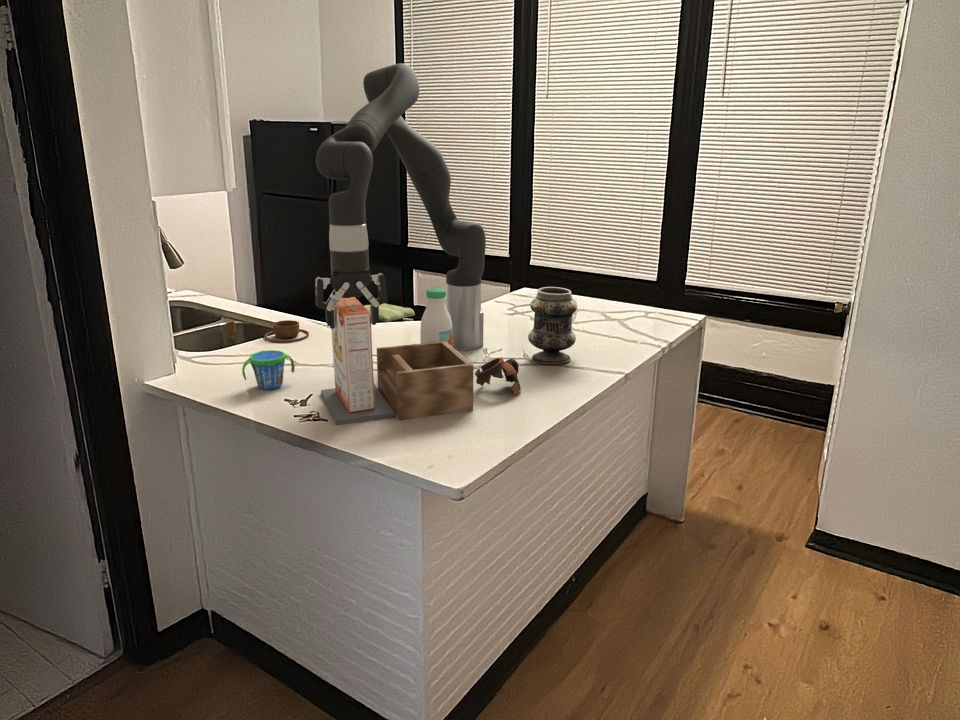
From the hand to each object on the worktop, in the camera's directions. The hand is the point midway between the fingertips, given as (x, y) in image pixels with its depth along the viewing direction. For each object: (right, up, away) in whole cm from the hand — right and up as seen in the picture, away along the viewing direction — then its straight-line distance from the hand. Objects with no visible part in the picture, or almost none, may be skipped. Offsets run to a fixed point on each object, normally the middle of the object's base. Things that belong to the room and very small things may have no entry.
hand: (352, 325), depth 147 cm
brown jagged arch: (+33, -15, +16) cm, 39 cm away
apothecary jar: (+44, -7, +37) cm, 58 cm away
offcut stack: (+10, -16, +7) cm, 20 cm away
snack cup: (-22, -13, +16) cm, 30 cm away
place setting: (-31, -1, +53) cm, 62 cm away
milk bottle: (+16, -10, +28) cm, 33 cm away
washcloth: (-4, +6, +76) cm, 77 cm away
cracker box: (-1, -16, +5) cm, 17 cm away
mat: (0, -17, +5) cm, 17 cm away
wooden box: (+14, -16, +9) cm, 22 cm away
